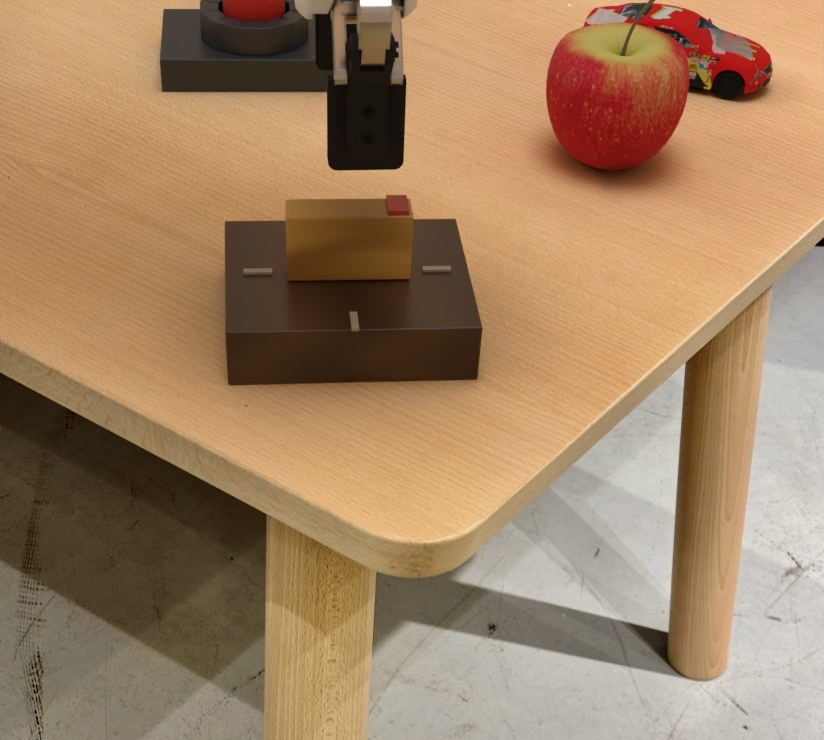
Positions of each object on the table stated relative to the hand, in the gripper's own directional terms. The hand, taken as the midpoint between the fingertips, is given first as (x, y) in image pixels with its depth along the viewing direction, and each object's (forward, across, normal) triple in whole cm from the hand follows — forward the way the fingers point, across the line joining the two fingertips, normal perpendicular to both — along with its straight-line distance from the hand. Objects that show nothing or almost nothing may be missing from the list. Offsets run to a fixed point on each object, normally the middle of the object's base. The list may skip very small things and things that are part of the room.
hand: (356, 114), depth 62 cm
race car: (+12, -29, +24) cm, 39 cm away
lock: (+8, 0, 0) cm, 8 cm away
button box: (+11, -30, -4) cm, 32 cm away
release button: (+8, -30, -4) cm, 31 cm away
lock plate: (+11, 0, 0) cm, 11 cm away
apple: (+12, -17, +17) cm, 27 cm away
